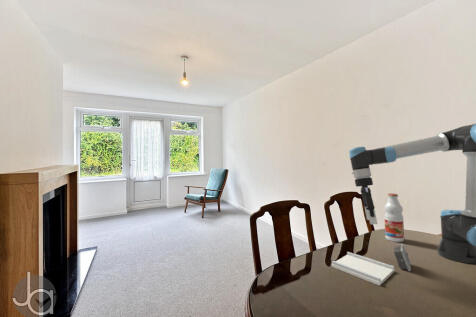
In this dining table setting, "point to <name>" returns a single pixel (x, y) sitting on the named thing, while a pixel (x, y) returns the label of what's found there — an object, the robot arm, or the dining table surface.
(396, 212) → the fruit juice
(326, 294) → the dining table surface
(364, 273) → the white tray
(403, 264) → the electrical switch
